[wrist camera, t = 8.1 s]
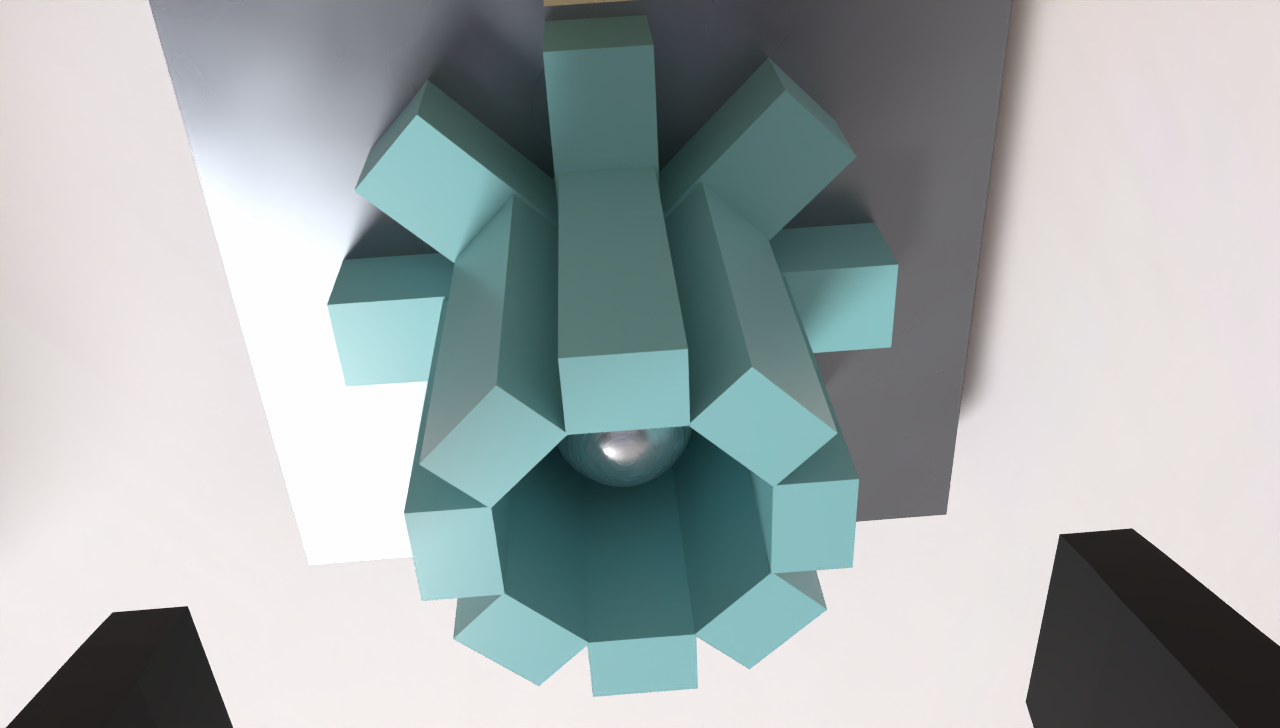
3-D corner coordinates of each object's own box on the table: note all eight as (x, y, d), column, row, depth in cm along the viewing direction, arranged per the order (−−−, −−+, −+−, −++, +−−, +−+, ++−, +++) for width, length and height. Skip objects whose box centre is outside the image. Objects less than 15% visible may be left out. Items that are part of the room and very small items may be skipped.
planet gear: (857, 467, 17) (961, 752, 12) (395, 502, 17) (336, 803, 12) (890, -2, 13) (1058, 169, 9) (295, 37, 13) (158, 232, 8)
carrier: (920, 456, 19) (1032, 706, 14) (326, 502, 18) (252, 771, 14) (1071, -942, 10) (1478, -1421, 6) (-40, -890, 10) (-540, -1348, 5)
